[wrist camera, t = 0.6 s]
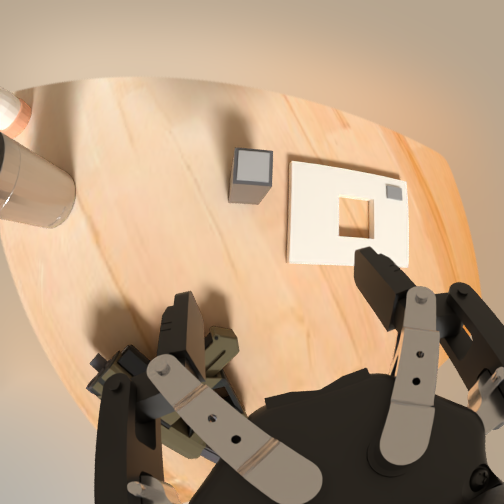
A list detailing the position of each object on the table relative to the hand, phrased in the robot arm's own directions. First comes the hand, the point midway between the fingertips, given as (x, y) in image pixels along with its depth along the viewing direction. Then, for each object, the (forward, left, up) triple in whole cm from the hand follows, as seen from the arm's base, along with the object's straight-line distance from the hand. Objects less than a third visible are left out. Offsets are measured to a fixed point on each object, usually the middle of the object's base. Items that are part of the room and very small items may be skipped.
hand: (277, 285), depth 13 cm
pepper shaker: (-49, -16, -24) cm, 56 cm away
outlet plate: (+5, +17, -23) cm, 30 cm away
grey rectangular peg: (-8, +7, -23) cm, 26 cm away
